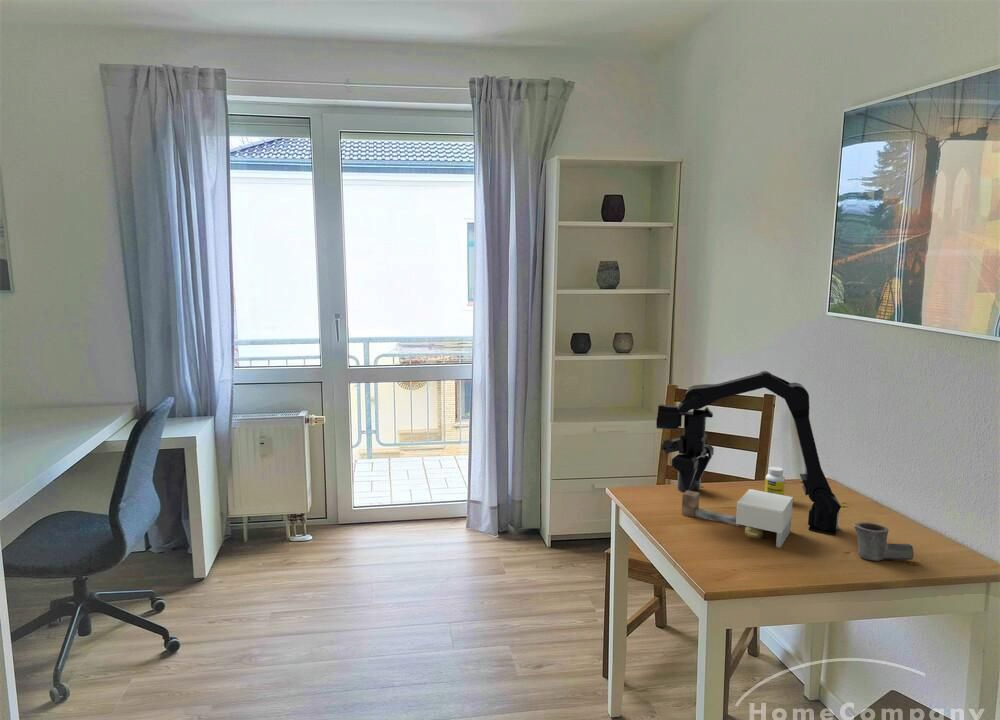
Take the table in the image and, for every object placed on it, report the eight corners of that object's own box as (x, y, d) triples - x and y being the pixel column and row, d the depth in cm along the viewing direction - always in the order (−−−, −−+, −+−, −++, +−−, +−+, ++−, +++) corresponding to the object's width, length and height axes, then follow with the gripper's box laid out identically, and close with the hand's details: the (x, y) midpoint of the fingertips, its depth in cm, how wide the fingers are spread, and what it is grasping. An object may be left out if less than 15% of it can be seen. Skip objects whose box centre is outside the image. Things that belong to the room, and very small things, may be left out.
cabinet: (790, 531, 174) (792, 497, 173) (779, 548, 164) (782, 511, 163) (747, 522, 180) (749, 488, 179) (734, 537, 170) (736, 502, 169)
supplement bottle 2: (764, 501, 197) (766, 469, 195) (764, 495, 202) (766, 464, 200) (783, 504, 195) (786, 472, 193) (783, 498, 200) (785, 467, 198)
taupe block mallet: (741, 522, 181) (743, 501, 180) (738, 527, 177) (739, 505, 176) (686, 510, 189) (687, 490, 188) (681, 514, 186) (682, 494, 185)
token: (764, 534, 173) (764, 528, 173) (760, 540, 169) (760, 533, 169) (746, 530, 175) (747, 524, 175) (742, 536, 172) (743, 529, 171)
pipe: (915, 567, 154) (918, 534, 153) (856, 561, 157) (858, 529, 156) (905, 556, 160) (908, 524, 159) (848, 551, 163) (850, 520, 162)
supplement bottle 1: (672, 488, 207) (674, 452, 206) (686, 484, 211) (688, 448, 210) (691, 495, 202) (692, 457, 200) (704, 490, 206) (706, 453, 204)
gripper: (677, 421, 195) (675, 471, 197) (654, 434, 180) (652, 489, 182) (715, 426, 189) (712, 478, 191) (694, 440, 174) (691, 497, 176)
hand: (691, 485), depth 185 cm, fingers open, 9 cm apart
